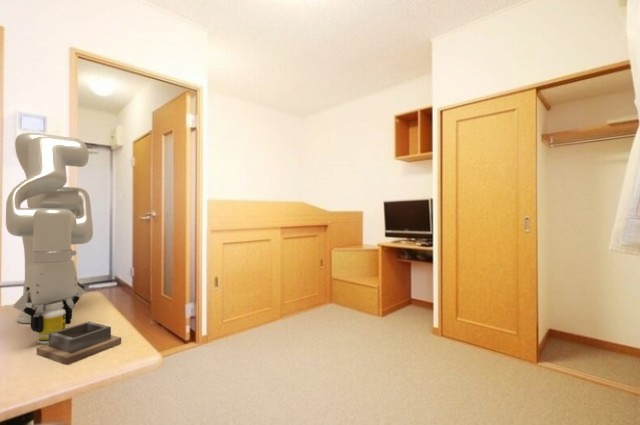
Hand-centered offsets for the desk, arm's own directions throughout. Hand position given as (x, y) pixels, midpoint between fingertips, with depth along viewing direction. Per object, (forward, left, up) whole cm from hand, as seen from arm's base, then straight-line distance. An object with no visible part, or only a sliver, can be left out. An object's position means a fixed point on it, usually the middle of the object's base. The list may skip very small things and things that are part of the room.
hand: (52, 326), depth 80 cm
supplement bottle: (0, 0, -4) cm, 4 cm away
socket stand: (+12, 0, -3) cm, 12 cm away
